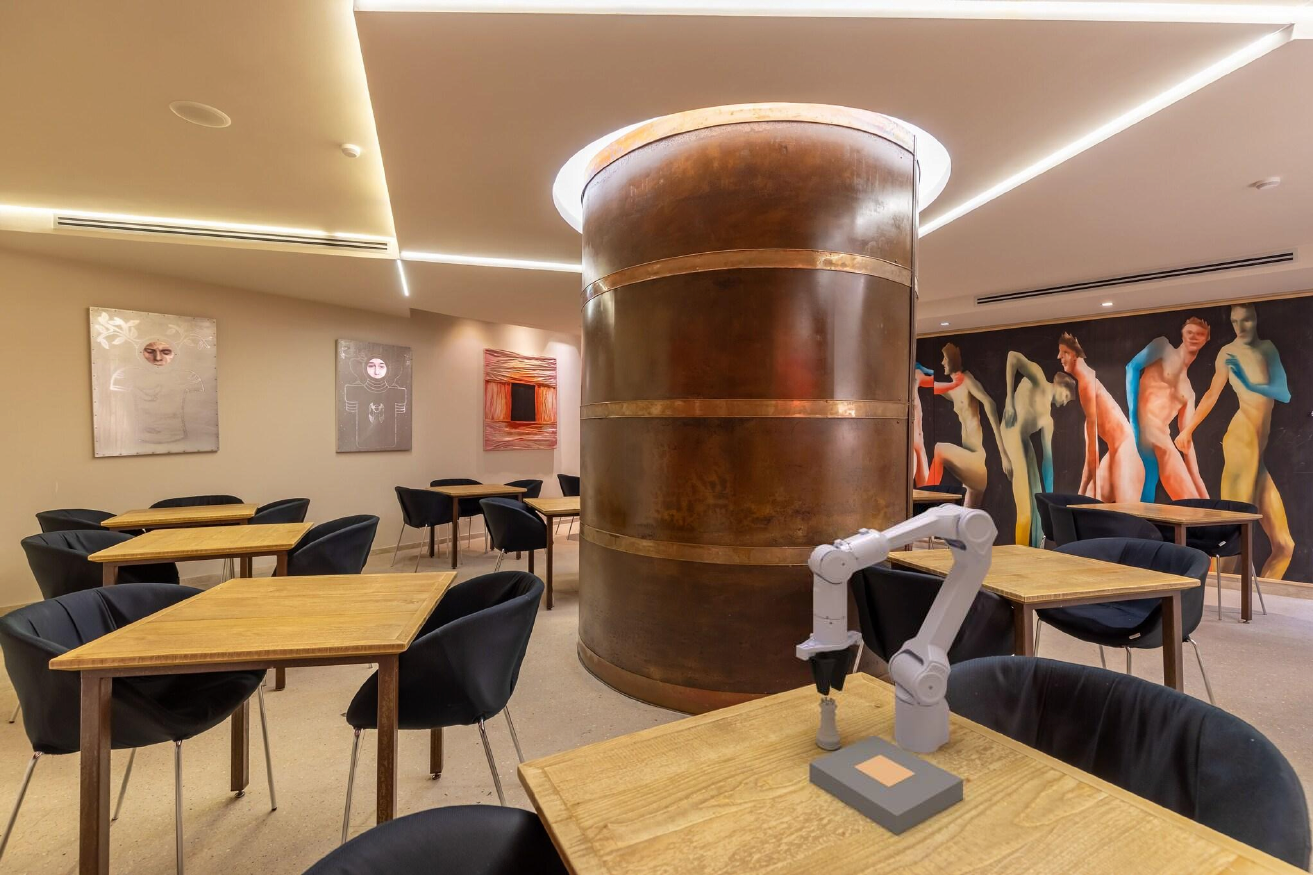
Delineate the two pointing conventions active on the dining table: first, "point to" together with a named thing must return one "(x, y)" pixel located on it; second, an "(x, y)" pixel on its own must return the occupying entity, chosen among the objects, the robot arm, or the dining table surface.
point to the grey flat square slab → (886, 783)
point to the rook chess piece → (828, 726)
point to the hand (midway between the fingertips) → (829, 691)
